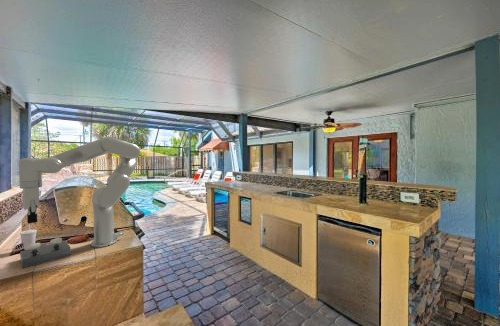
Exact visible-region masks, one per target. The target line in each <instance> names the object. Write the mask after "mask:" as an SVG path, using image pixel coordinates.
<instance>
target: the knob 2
mask: <svg viewBox="0 0 500 326" xmlns="http://www.w3.org/2000/svg"><path fill="white" fill-rule="evenodd" d="M62 241H63V238H62V237H57V238H53V239H51V240H50V243H49V244H51V245H54V248H56V247H59V243H61V242H62Z"/></svg>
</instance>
